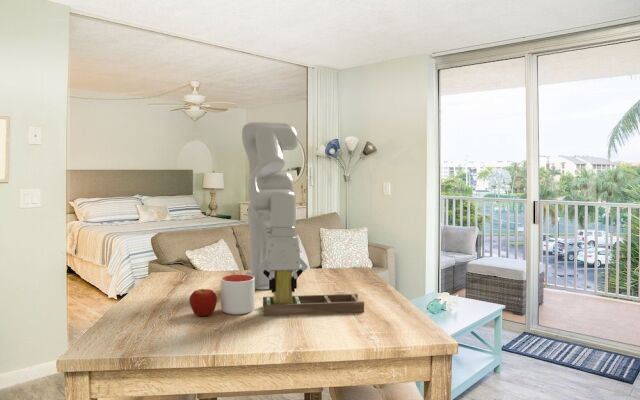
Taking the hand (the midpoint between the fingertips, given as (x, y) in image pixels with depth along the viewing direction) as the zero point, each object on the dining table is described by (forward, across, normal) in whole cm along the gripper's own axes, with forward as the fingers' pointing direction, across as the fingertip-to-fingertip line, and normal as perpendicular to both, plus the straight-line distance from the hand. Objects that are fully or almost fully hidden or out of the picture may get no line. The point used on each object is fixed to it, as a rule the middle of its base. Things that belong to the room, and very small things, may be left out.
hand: (282, 290), depth 142 cm
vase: (+5, 0, 0) cm, 5 cm away
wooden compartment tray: (+6, +9, 0) cm, 11 cm away
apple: (+6, -23, -2) cm, 24 cm away
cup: (+6, -14, +1) cm, 15 cm away
